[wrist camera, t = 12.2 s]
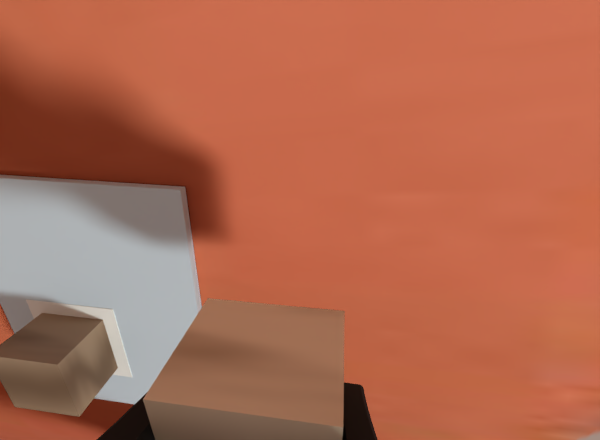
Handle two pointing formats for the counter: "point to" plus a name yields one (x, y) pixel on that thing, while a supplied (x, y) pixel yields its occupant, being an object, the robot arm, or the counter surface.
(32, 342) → the walnut block
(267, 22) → the counter surface
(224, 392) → the maple block
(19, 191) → the board
